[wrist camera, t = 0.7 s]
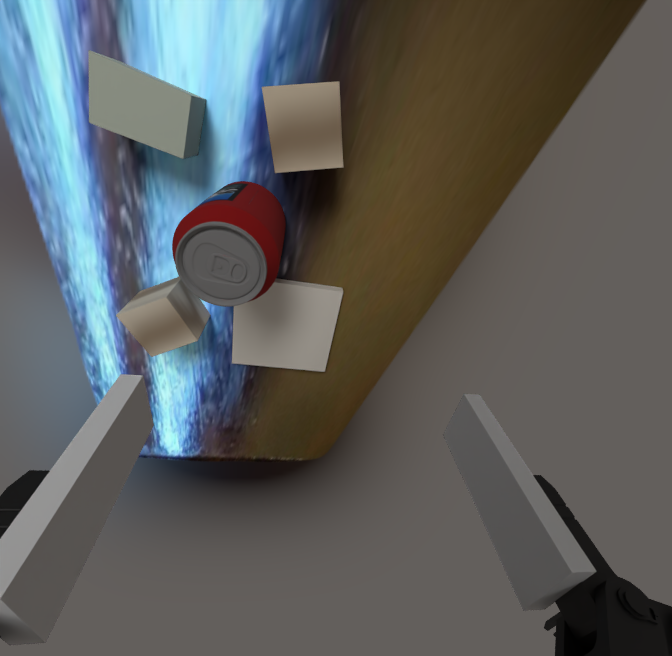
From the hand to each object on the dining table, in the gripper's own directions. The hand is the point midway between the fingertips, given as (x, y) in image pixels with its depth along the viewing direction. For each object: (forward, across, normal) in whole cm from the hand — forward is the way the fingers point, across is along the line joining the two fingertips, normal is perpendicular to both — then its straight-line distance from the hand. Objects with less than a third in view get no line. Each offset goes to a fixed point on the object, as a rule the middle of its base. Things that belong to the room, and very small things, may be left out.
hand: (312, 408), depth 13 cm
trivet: (+21, -2, -9) cm, 23 cm away
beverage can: (+21, -6, +2) cm, 22 cm away
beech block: (+21, -1, +10) cm, 23 cm away
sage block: (+21, -12, +9) cm, 26 cm away
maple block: (+21, -13, -8) cm, 26 cm away
